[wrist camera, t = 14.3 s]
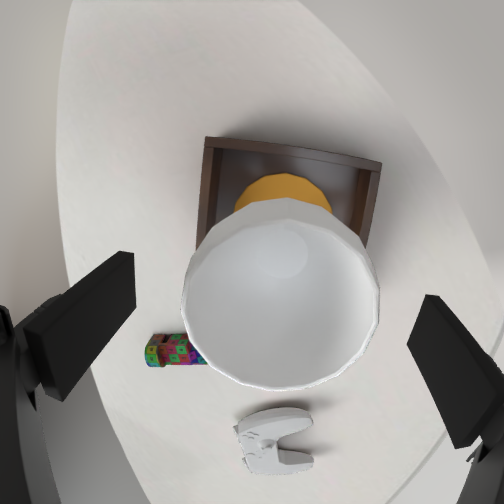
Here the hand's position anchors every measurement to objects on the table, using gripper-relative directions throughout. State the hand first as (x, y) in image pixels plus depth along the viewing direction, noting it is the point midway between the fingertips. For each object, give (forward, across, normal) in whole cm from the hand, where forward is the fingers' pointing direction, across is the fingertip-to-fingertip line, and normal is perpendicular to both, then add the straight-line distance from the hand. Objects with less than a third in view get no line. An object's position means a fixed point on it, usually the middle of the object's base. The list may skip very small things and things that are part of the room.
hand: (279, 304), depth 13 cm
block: (+16, -9, -16) cm, 24 cm away
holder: (+16, 0, 0) cm, 16 cm away
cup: (+16, 0, 0) cm, 16 cm away
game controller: (+16, +4, -29) cm, 34 cm away
